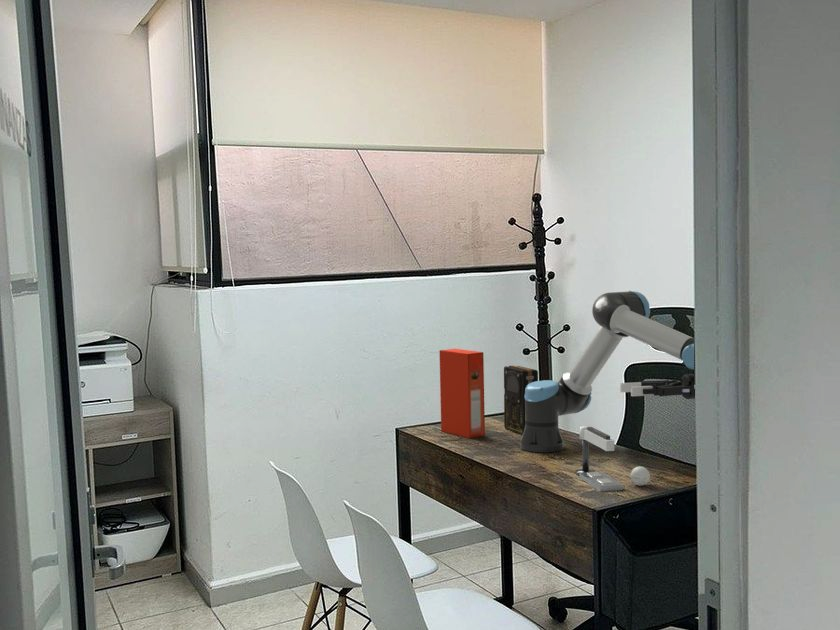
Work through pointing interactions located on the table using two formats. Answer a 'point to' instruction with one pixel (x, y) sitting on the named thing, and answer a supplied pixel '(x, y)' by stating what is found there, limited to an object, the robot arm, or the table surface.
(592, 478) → the plate
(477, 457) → the table surface
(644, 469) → the white egg shape
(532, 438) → the robot arm
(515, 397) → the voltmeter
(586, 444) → the post
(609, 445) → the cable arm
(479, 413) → the file binder
